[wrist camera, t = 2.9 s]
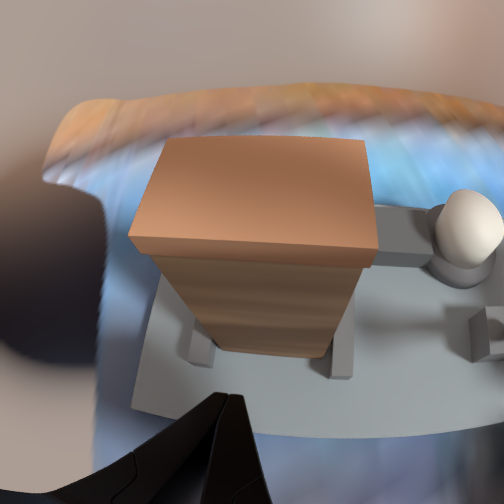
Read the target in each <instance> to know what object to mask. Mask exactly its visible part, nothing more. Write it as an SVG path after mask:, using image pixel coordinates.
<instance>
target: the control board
mask: <svg viewBox="0 0 504 504" xmlns="http://www.w3.org/2000/svg"><path fill="white" fill-rule="evenodd" d="M374 209H375V217H376V227H377V237H378V248H379V249H378V251H377V254H376V256H375V258H374V261H373V263H372V265H371V267H370V268H364V269H363V271H362V273H361V276H360V278H359V281H358V283H357V285H356V288H355V290H354V292H353V295H352V297H351V299H350V301H349V304H348V306H347V308H346V310H345V312H344V315H343V317H342V319H341V321H340V323H339V325H338V328H337V330H336V332H335V334H334V336H333V338H332V340H331V342H330V344H329V346H328V348H327V350H326V352H325V354H324V356H323V358H322V359H310V358H294V357H281V356H269V355H258V354H248V353H239V352H230V351H223V350H222V349H221V348H220V347H219V345H218V344H217V343H216V342H215V340H214V339H213V338H212V337H211V336H210V334H209V333H208V332H207V331H206V329H205V328H204V327H203V326H202V324H201V323H200V322H199V321H198V319H197V318H196V317H195V316H194V314H193V313H192V312H191V310H190V309H189V308H188V307H187V305H186V304H185V303H184V301H183V300H182V299H181V297H180V296H179V295H178V294H177V292H176V291H175V290H174V288H173V287H172V286H171V284H170V283H169V282H168V280H167V279H166V278H165V276H164V275H163V273H162V272H161V276H160V280H159V283H158V287H157V291H156V295H155V299H154V303H153V307H152V311H151V315H150V319H149V323H148V327H147V331H146V335H145V340H144V344H143V349H142V353H141V358H140V362H139V367H138V372H137V377H136V381H135V386H134V392H133V397H132V402H131V407H130V408H131V409H135V410H139V411H143V412H146V413H150V414H154V415H158V416H163V417H167V418H171V419H176V420H177V419H179V418H180V417H181V416H183V415H184V414H185V413H187V412H188V411H189V410H191V409H192V408H193V407H195V406H196V405H197V404H199V403H200V402H201V401H203V400H204V399H205V398H207V397H208V396H209V395H211V394H212V393H213V392H224V393H228V394H241V395H243V396H244V398H245V403H246V407H247V411H248V415H249V419H250V423H251V427H252V431H253V433H261V434H271V435H282V436H295V437H312V438H387V437H404V436H416V435H427V434H436V433H444V432H451V431H458V430H464V429H470V428H476V427H482V426H487V425H492V424H496V423H501V422H504V218H502V217H501V215H500V213H499V212H498V210H497V209H496V207H495V206H494V205H493V204H492V203H491V202H490V201H489V200H488V199H487V198H486V197H484V196H483V195H481V194H479V193H477V192H475V191H472V190H466V189H462V190H457V191H455V192H453V193H452V194H451V195H450V197H449V199H448V200H447V202H446V204H442V205H438V206H435V207H433V208H432V209H422V208H412V207H401V206H390V205H378V204H374Z"/></svg>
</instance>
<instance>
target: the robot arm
mask: <svg viewBox="0 0 504 504" xmlns="http://www.w3.org/2000/svg"><path fill="white" fill-rule="evenodd" d="M0 504H273V503H272V500H271V497H270V494H269V491H268V488H267V484H266V481H265V478H264V474H263V470H262V466H261V462H260V459H259V455H258V451H257V447H256V443H255V439H254V435H253V431H252V427H251V423H250V419H249V415H248V411H247V407H246V403H245V398H244V396H243V395H241V394H228V393H224V392H213V393H212V394H211V395H209V396H208V397H207V398H205V399H204V400H203V401H201V402H200V403H199V404H197V405H196V406H195V407H193V408H192V409H191V410H189V411H188V412H187V413H185V414H184V415H183V416H181V417H180V418H179V419H177V420H176V421H174V422H173V423H172V424H170V425H169V426H168V427H166V428H165V429H163V430H162V431H160V432H159V433H158V434H156V435H155V436H153V437H152V438H150V439H149V440H148V441H146V442H145V443H143V444H142V445H140V446H139V447H137V448H136V449H134V450H133V452H130V453H128V454H127V455H125V456H124V457H122V458H120V459H119V460H117V461H116V462H114V463H112V464H111V465H109V466H107V467H105V468H103V469H101V470H99V471H97V472H95V473H93V474H91V475H89V476H87V477H85V478H83V479H80V480H78V481H76V482H74V483H71V484H69V485H67V486H64V487H62V488H59V489H57V490H54V491H51V492H47V493H24V492H15V491H9V490H2V489H0Z"/></svg>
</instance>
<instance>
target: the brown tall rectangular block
mask: <svg viewBox="0 0 504 504" xmlns="http://www.w3.org/2000/svg"><path fill="white" fill-rule="evenodd" d="M128 237H129V238H130V240H131V241H132V242H133V244H134V245H135V246H136V248H137V249H138V250H139V252H140V253H141V254H147V255H149V256H150V257H151V258H152V260H153V261H154V263H155V264H156V265H157V267H158V268H159V269H160V271H161V272H162V273H163V275H164V276H165V278H166V279H167V280H168V282H169V283H170V284H171V286H172V287H173V288H174V290H175V291H176V292H177V294H178V295H179V296H180V297H181V299H182V300H183V301H184V303H185V304H186V305H187V307H188V308H189V309H190V310H191V312H192V313H193V314H194V316H195V317H196V318H197V319H198V321H199V322H200V323H201V324H202V326H203V327H204V328H205V329H206V331H207V332H208V333H209V334H210V336H211V337H212V338H213V339H214V340H215V342H216V343H217V344H218V345H219V347H220V348H221V349H222V350H223V351H230V352H239V353H248V354H258V355H269V356H281V357H294V358H310V359H322V358H323V356H324V354H325V352H326V350H327V348H328V346H329V344H330V342H331V340H332V338H333V336H334V334H335V332H336V330H337V328H338V325H339V323H340V321H341V319H342V317H343V315H344V312H345V310H346V308H347V306H348V304H349V301H350V299H351V297H352V295H353V292H354V290H355V288H356V285H357V283H358V281H359V278H360V276H361V273H362V271H363V269H364V268H370V267H371V265H372V263H373V261H374V258H375V256H376V254H377V251H378V249H379V248H378V237H377V227H376V217H375V209H374V201H373V193H372V186H371V179H370V172H369V166H368V159H367V153H366V148H365V142H364V140H352V139H339V138H323V137H302V136H205V137H184V138H168V140H167V142H166V144H165V146H164V148H163V150H162V153H161V155H160V157H159V159H158V162H157V164H156V166H155V168H154V171H153V173H152V175H151V178H150V180H149V182H148V185H147V187H146V190H145V192H144V195H143V197H142V199H141V202H140V205H139V207H138V210H137V212H136V215H135V217H134V220H133V223H132V225H131V228H130V231H129V233H128Z"/></svg>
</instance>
